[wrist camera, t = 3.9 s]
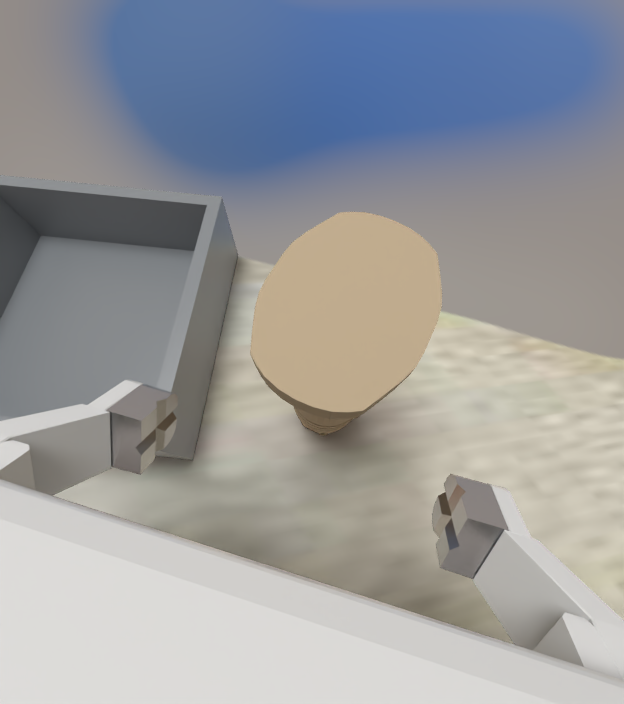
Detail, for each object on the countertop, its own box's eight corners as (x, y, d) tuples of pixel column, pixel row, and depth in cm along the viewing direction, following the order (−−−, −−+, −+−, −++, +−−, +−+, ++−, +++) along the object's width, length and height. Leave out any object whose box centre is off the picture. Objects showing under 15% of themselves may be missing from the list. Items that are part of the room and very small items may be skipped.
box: (238, 254, 28) (221, 196, 23) (192, 459, 22) (156, 449, 17) (43, 235, 29) (-20, 173, 23) (-52, 433, 23) (-168, 414, 17)
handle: (268, 437, 23) (213, 356, 9) (313, 357, 25) (324, 192, 11) (333, 473, 22) (383, 445, 8) (374, 387, 24) (468, 251, 11)
